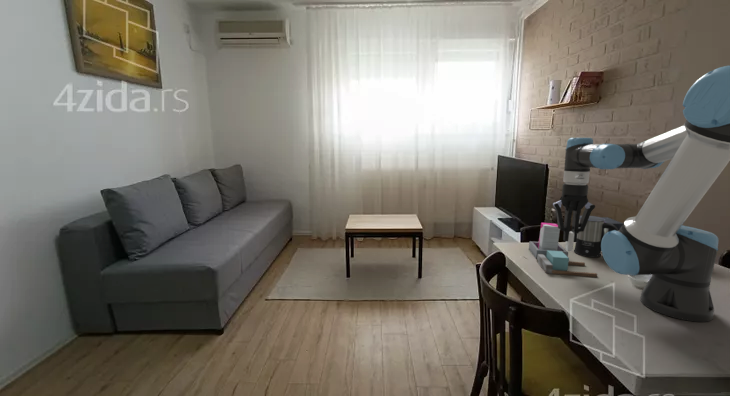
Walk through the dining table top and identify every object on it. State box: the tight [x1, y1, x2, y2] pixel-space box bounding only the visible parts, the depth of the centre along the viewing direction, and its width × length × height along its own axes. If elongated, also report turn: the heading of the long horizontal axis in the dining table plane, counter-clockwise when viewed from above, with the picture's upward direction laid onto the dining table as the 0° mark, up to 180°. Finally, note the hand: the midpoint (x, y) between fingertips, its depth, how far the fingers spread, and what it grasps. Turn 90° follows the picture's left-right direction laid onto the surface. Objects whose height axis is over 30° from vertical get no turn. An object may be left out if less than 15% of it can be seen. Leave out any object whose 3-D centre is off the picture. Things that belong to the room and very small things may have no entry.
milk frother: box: [573, 215, 618, 258], centre depth 140 cm, size 14×16×15 cm
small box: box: [601, 216, 624, 236], centre depth 151 cm, size 11×6×10 cm, turn 178°
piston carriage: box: [546, 250, 570, 271], centre depth 123 cm, size 7×5×5 cm
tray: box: [528, 240, 569, 260], centre depth 136 cm, size 11×11×4 cm
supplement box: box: [538, 222, 561, 251], centre depth 136 cm, size 6×6×12 cm
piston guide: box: [536, 254, 598, 278], centre depth 123 cm, size 11×16×3 cm
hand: (568, 250), depth 121 cm, fingers closed
